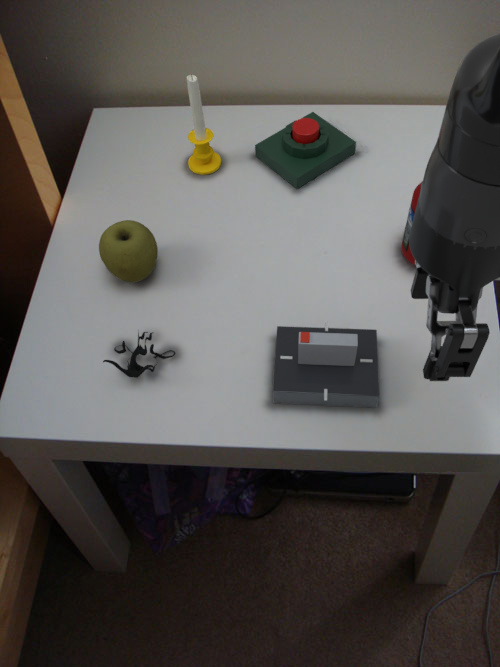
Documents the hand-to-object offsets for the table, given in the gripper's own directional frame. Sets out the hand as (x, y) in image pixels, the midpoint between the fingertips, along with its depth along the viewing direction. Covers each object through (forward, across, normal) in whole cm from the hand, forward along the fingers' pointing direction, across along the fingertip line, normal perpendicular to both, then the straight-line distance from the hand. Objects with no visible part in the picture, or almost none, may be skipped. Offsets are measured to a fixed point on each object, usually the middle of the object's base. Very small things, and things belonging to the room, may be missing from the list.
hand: (428, 333), depth 54 cm
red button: (+15, +45, +9) cm, 49 cm away
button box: (+18, +46, +9) cm, 50 cm away
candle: (+18, +44, +25) cm, 54 cm away
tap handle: (+15, +6, +8) cm, 18 cm away
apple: (+19, +23, +33) cm, 45 cm away
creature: (+19, +8, +30) cm, 37 cm away
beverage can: (+18, +25, -6) cm, 32 cm away
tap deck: (+18, +6, +8) cm, 21 cm away
